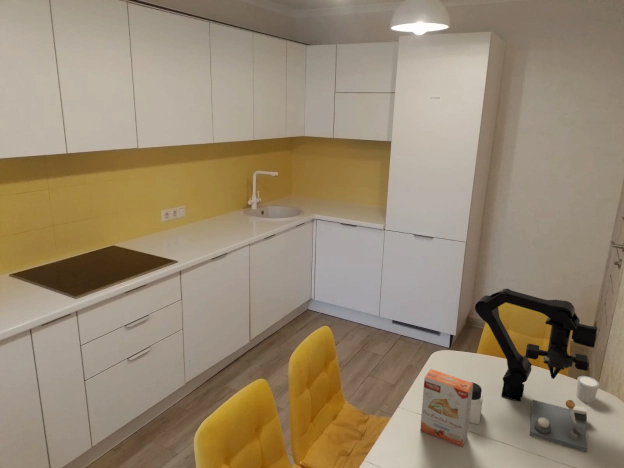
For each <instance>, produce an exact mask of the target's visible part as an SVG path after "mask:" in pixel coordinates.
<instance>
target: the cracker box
mask: <svg viewBox="0 0 624 468" xmlns="http://www.w3.org/2000/svg"><path fill="white" fill-rule="evenodd" d="M471 382H472V381H471ZM471 382H470V381H467V380H464V379H463V378H458V377H455V376H453V375H450V374H446V373H444V372H440V371H439V370H434V369H433V368H431V369H429V370H428V372H427V374H425V376H424V381H423V390H422V404H421V417H420V431H421V432H423V433H424V432H425V433H428V434H429V435H432V436H435V438H436V437H437V438H439V439H442V440H444V441H446V442H449V443H450V444H452V445H453V444H454V445H455V446H458V447H460V448H463V445H465V444H464V443H465V442H466V440H467V437H468V433H469V425H470V422H469V418H470V409H471V400H472V391H473V383H474V382H473V383H471Z"/></svg>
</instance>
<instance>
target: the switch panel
mask: <svg viewBox="0 0 624 468" xmlns="http://www.w3.org/2000/svg"><path fill="white" fill-rule="evenodd" d="M574 415H575V420H576V426H577V431H578V433H574V432H573V427H572V422H571V417H570V411H569V408H568V407H562V406H559V405H555V404H551V403H548V402H544V401H540V400H535V399H532V403H531V414H530V424H529V425H530V427H529V436H531V437H535V438H537V439H540V440H544V441H548V442H551V443H555V444H557V445H559V446H560V445H561V446H564V447H567V448H571V449H574V450H578V451H581V452H584V453H587V451H588V442H587V431H586V423H587V418H588V416H587V413H586V414H580V413H574ZM539 418H546V419H547V420H548V421H549V427H548V428H543V427H541V426H539V425H538V419H539Z"/></svg>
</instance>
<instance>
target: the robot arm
mask: <svg viewBox="0 0 624 468" xmlns="http://www.w3.org/2000/svg"><path fill="white" fill-rule="evenodd" d="M506 303H507V304H510V305H512V306H517V307H520V308H524V309H526V310H531V311H533V312H534V311H535V312H537V313H540V314H543V315H544V316H546V317H547V318H546V320H545V322H544V324H546V325H548V326H551V327H550V334H549V338H548V339H549V340H548V346H547V350H543V349H540V345H538V344H532V343H527V344H526V349H525V355H522V354H520V352H519V351H518V350H517V347H516V345H515V344H514V341H513V339H512V338H511V336H510V334H509V333H508V331H507V329H506V327H505V325H504V323H503V321H502V319H501V317H500V311H499V307H501V306H502V305H505V304H506ZM474 310H475V312H476V314H477V315H478V316H479V318H481V320H483V322H485V323H486V324H487V325H488V326H489V327H488V328H490V330H491V333H492V334H493V336H494V338H495V340H496V341H497V344H498V345H499V347H500V349H501V351H502V353H503V354H504V355H503V356H504V357H505V359H506V363H507V370H506V372H505V374H504V376H503V377H502V381H503V384H502V390H501V397H502V398H505V399H510V400H514V401H517V402H521V401H522V398H524V391H525V390H524V389H525V382H527V380H528V378H529V376H530V374H531V372H532V365H533V364H532V362H530V361H529V359H531V360H537V359H539V356H541V357H543V364H545V365H547V367H548V369H549V374H550V378H551V379H553V380H555V378H556V377H557V376H558V374H559V373H560V371H563V370H565V369H568V368H572V367H573V364H574V367H575V369H577V370H581V371H585V372H587V371H589V367H590V366H589V365H590V361H589V357H588V356H587V355H586V354H581V353H575V352H574V355H573V356H572V355H569V353H568V350H569V345H570V343H569V342H570V339H571V340H572V342H573V343H574V344H578V345H582V346H585V347H588V348H592V349H594V348H595V347H596V343H597V338H598V327H597V326H592V325H587V324H582V323H580V322H581V320H580V318H579V317H578V315H577V313H576V312H575V311H576V310H575V306H574V305H573V303H571V302H570V301H568V300H561V299H545V298H541V297H537V296H533V295H529V294H526V293H522V292H518V291H514V290H511V289H510V288H503V289H501V290H499V291H497V292H494V293H493V294H491V295H483V296H481V298H479V300H478V301H477V302H476V304H475V306H474ZM571 331H572V332H571ZM571 333H572V334H571ZM570 337H571V338H570Z"/></svg>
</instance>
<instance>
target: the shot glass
mask: <svg viewBox="0 0 624 468" xmlns="http://www.w3.org/2000/svg"><path fill="white" fill-rule="evenodd" d="M576 380H577V381H576V392H575V393H576V394H575V395H576V398H577V399H578V400H580V401H581V402H584V403H593V402H594V401H595V399H596V396H597V393H598V390H599V387H600V382H599V381H598V380H597V379H595V378H593V377H591V376H587V375H581V376H578V377H577V379H576Z"/></svg>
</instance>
